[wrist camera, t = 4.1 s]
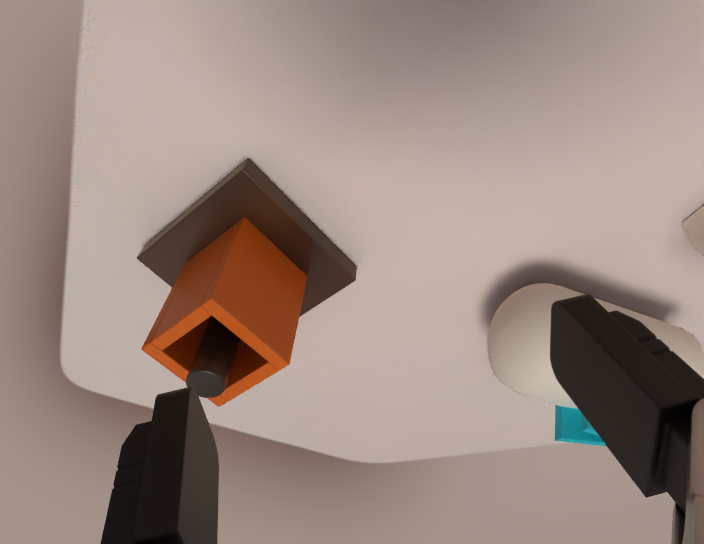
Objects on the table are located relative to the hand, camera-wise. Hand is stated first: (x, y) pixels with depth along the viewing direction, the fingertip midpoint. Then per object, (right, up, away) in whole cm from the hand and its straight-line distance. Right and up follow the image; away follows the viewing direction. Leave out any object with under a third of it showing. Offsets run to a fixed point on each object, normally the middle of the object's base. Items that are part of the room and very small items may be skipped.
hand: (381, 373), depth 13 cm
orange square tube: (-7, +2, +24) cm, 26 cm away
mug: (+13, -2, +28) cm, 31 cm away
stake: (-7, +3, +26) cm, 27 cm away
